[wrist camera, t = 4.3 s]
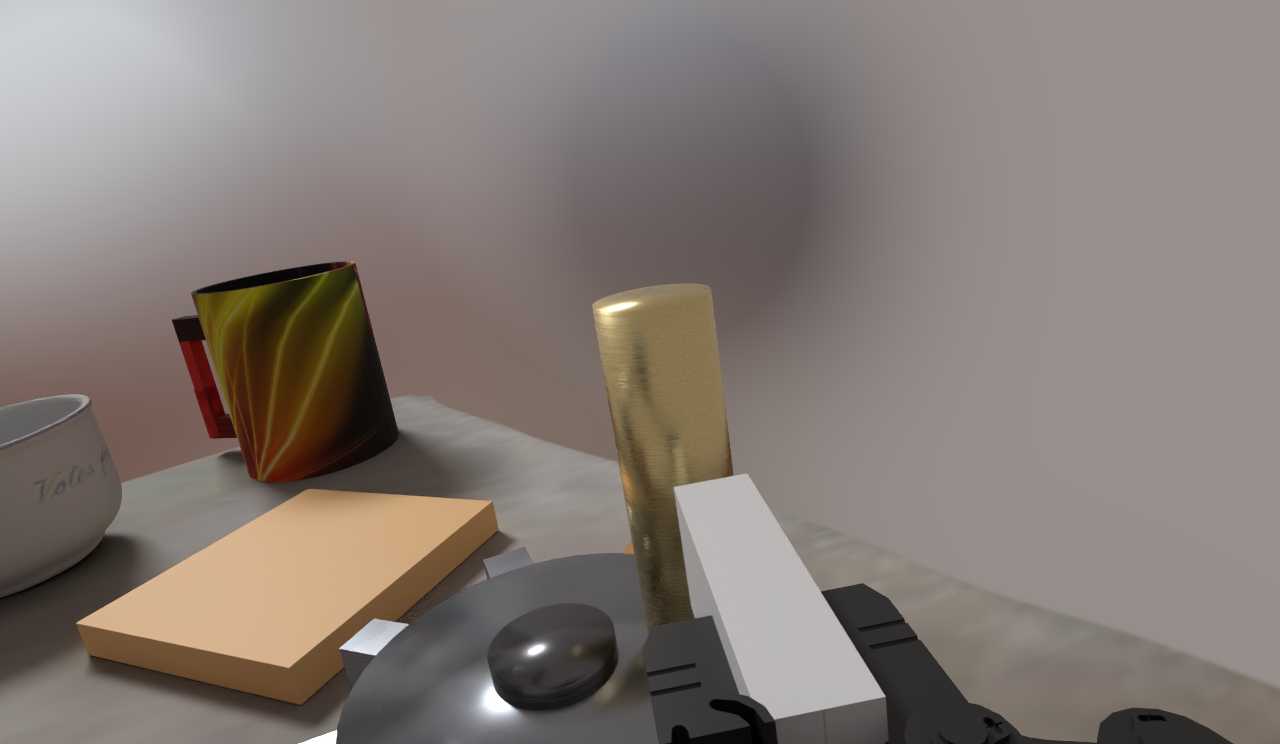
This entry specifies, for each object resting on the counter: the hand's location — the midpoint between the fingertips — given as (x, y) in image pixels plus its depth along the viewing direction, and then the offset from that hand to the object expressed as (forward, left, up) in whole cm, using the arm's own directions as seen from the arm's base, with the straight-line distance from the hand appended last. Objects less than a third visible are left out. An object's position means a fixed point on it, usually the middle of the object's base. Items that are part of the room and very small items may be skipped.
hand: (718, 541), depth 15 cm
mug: (-38, +20, -9) cm, 44 cm away
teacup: (-42, +6, -9) cm, 44 cm away
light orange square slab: (-22, +7, -8) cm, 25 cm away
